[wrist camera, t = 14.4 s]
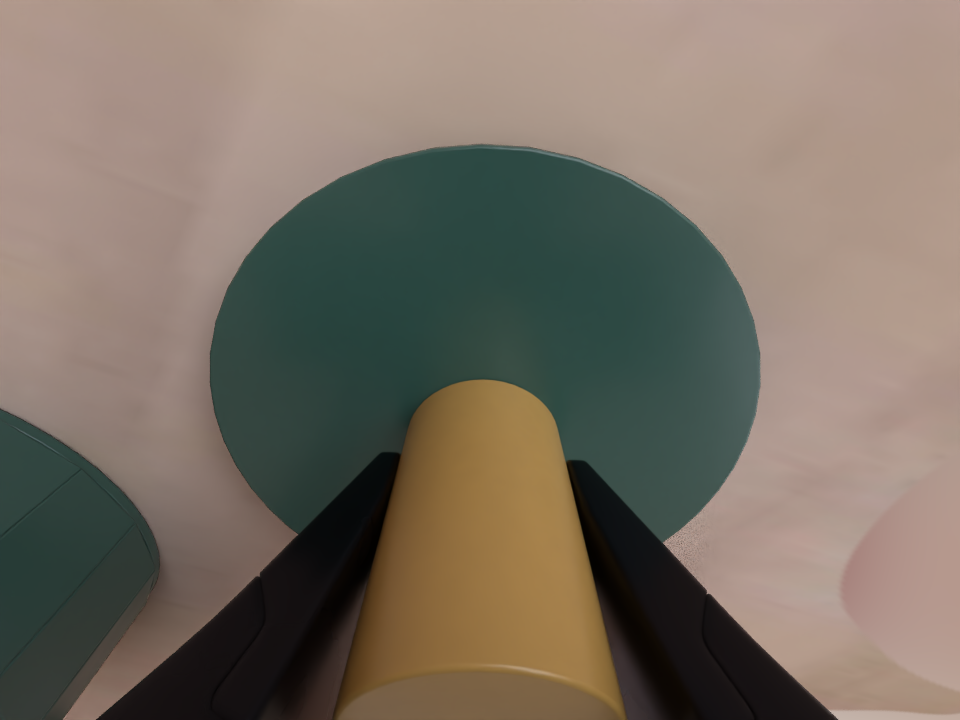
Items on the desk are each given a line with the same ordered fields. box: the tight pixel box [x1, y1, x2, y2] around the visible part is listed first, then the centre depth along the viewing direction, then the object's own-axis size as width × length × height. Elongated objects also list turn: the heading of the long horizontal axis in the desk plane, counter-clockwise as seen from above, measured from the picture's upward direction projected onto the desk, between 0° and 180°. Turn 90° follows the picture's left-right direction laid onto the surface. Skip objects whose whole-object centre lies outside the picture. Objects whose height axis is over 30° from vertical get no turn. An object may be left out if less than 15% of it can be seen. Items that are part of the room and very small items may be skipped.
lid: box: [210, 144, 760, 720], centre depth 8 cm, size 13×13×7 cm
